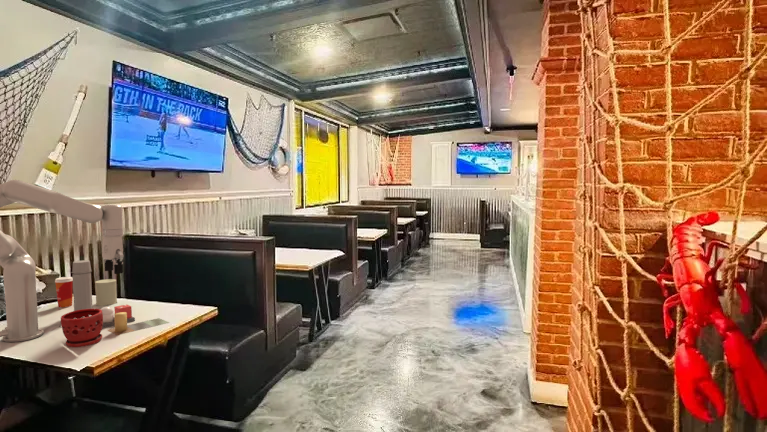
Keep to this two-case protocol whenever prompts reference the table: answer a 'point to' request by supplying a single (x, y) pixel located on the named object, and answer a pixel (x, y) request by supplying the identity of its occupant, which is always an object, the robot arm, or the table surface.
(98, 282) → the can
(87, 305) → the water bottle
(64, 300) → the paper cup
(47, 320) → the table surface
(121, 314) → the tan cylinder
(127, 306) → the popper base
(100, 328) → the plant pot
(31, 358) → the table surface
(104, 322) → the dome
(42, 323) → the table surface
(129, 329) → the game board
